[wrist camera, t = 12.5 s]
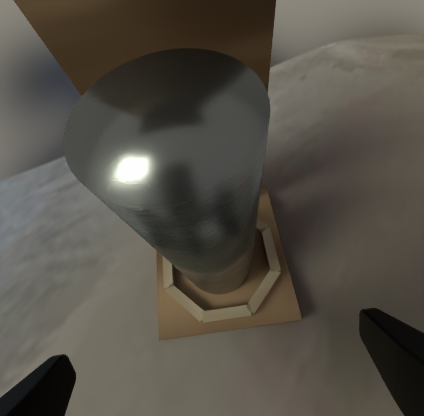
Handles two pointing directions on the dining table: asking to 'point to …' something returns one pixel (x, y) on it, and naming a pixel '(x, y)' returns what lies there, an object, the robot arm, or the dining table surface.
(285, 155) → the dining table surface
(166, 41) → the ledge stand
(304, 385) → the dining table surface
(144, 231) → the metal tin
